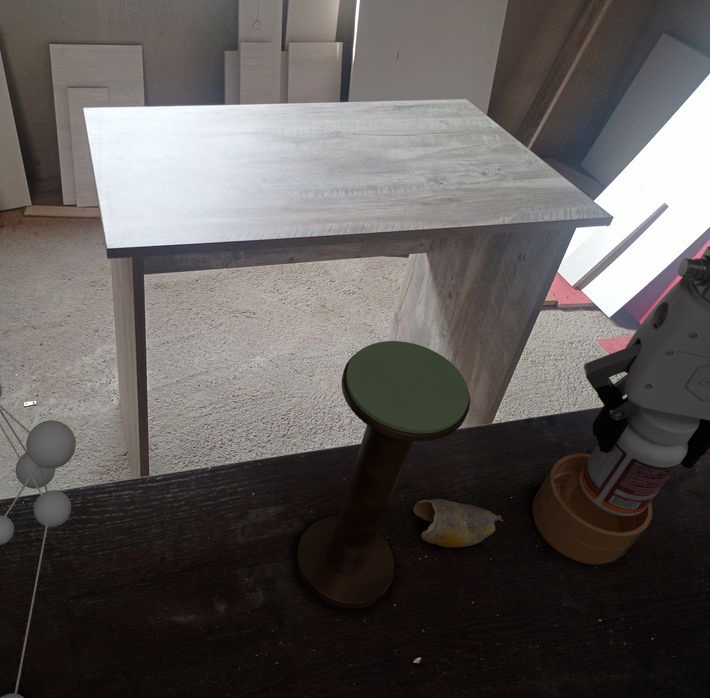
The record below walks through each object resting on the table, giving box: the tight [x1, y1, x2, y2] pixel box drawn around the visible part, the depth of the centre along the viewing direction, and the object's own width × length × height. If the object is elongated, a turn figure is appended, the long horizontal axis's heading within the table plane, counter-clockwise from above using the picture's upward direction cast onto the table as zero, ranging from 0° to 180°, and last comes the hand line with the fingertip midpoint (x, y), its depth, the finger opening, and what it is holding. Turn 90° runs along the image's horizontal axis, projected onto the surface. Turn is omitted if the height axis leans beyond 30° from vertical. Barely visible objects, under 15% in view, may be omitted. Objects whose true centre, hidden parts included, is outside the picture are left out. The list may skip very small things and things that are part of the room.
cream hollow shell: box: [412, 498, 504, 548], centre depth 69 cm, size 8×4×5 cm, turn 103°
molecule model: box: [0, 383, 77, 698], centre depth 57 cm, size 14×25×18 cm, turn 172°
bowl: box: [531, 452, 653, 565], centre depth 71 cm, size 9×9×6 cm
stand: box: [296, 354, 471, 609], centre depth 59 cm, size 9×9×24 cm
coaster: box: [346, 340, 470, 434], centre depth 50 cm, size 9×9×1 cm
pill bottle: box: [580, 407, 700, 516], centre depth 64 cm, size 6×6×11 cm
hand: (641, 446), depth 63 cm, fingers closed on pill bottle, 6 cm apart
